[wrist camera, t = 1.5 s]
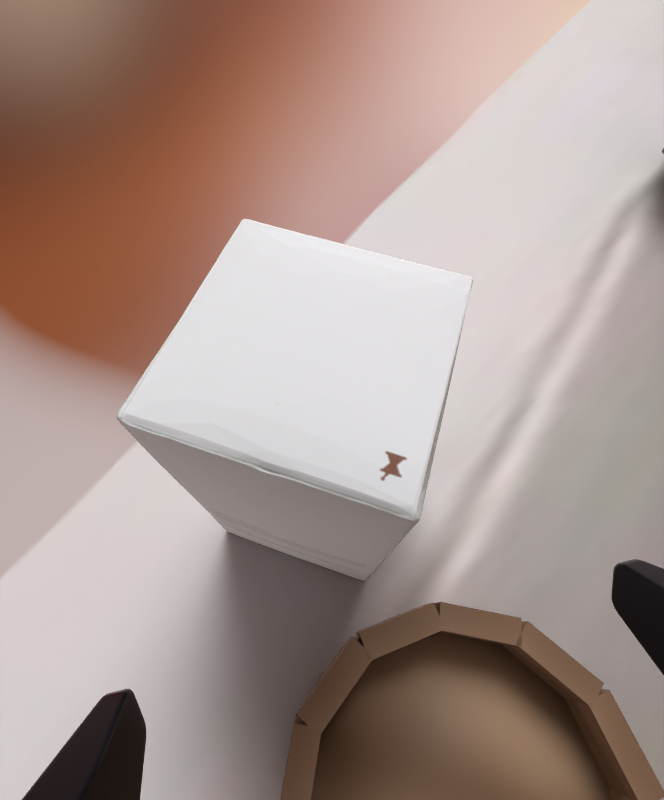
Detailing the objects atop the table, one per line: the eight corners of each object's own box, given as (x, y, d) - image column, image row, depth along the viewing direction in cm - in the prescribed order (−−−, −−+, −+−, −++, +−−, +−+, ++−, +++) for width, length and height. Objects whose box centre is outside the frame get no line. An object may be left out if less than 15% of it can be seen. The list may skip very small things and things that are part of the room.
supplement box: (407, 443, 23) (487, 274, 12) (365, 586, 20) (423, 534, 9) (278, 401, 24) (242, 208, 13) (219, 530, 21) (102, 420, 10)
